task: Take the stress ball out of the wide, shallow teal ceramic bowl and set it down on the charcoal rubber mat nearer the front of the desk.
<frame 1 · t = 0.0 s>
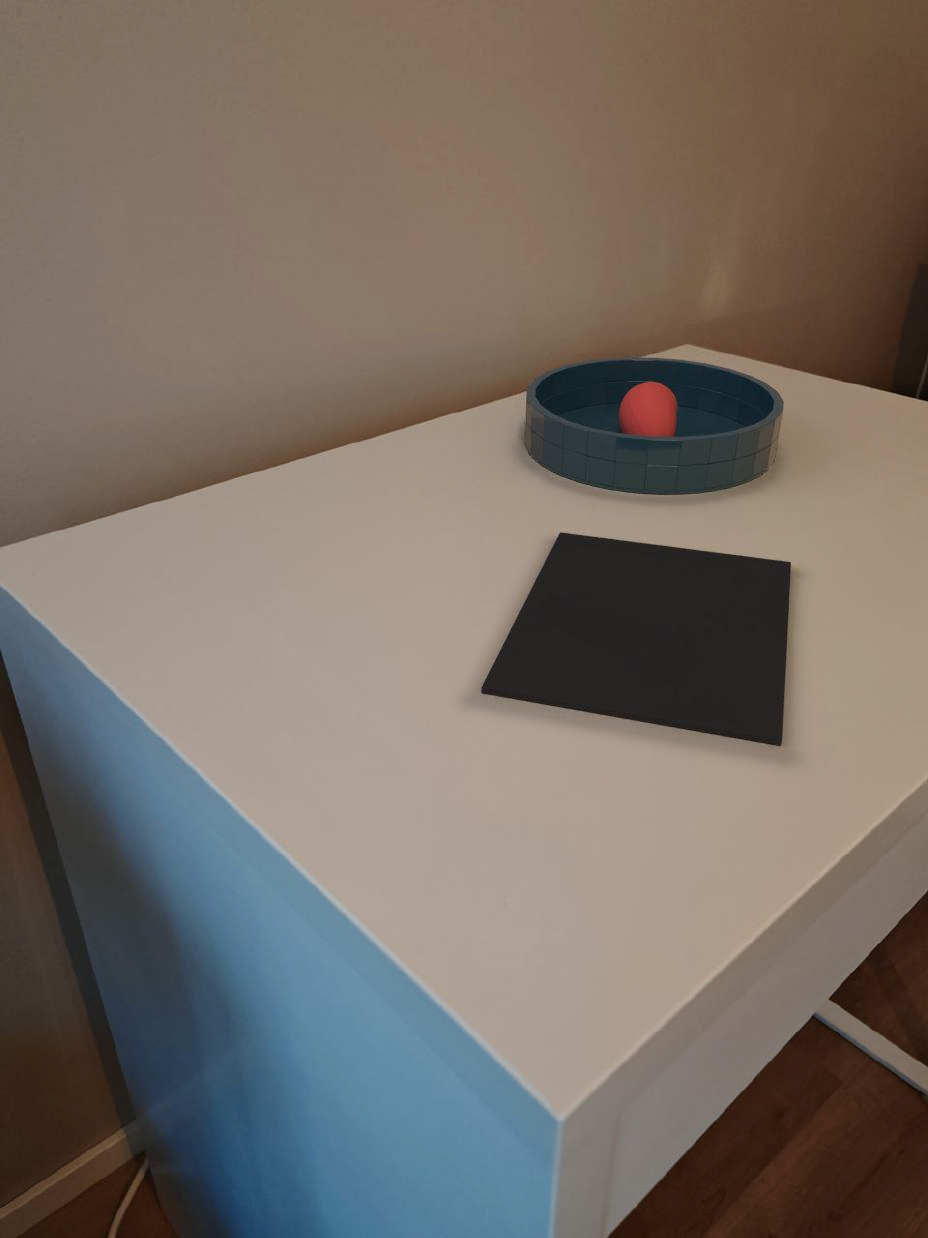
bowl: (647, 443, 85), on the table
stress ball: (647, 442, 85), resting on bowl
mat: (651, 623, 60), on the table
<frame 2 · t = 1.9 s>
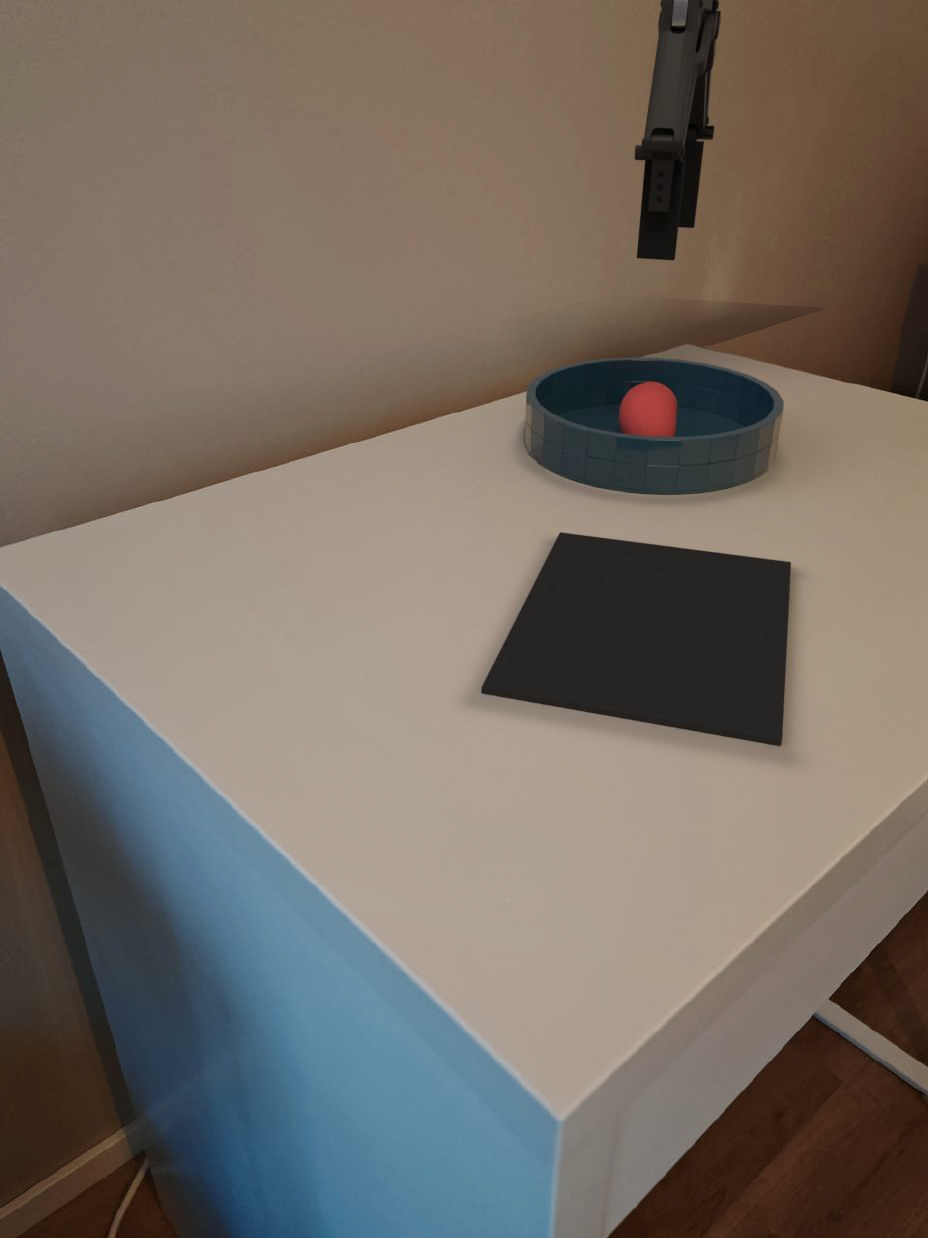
hand: (667, 241, 76), 17 cm above the table, tool pointing down, fingers open, 13 cm apart
nothing on the table moved.
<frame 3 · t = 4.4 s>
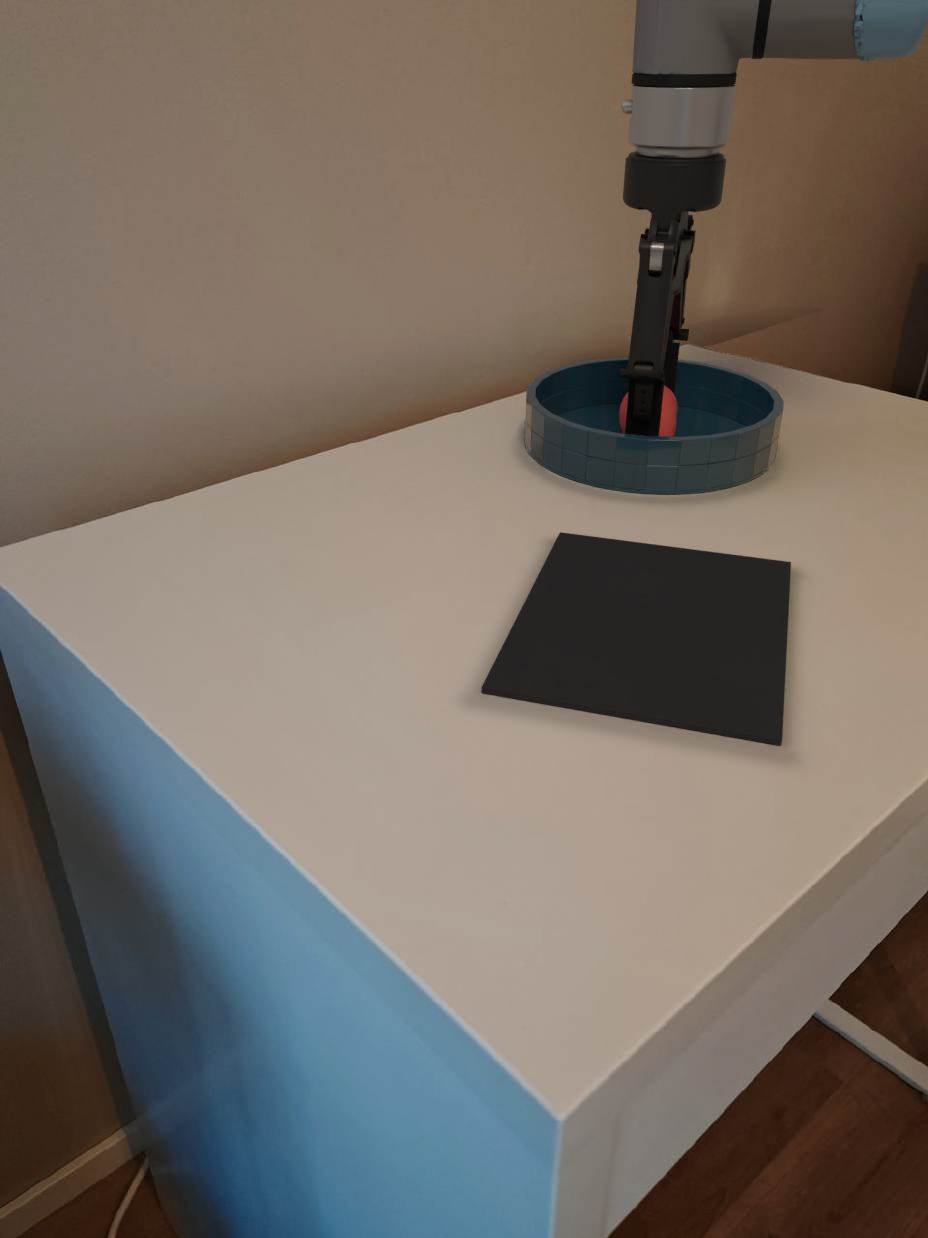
hand: (648, 432, 84), 1 cm above the table, tool pointing down, fingers closed on stress ball, 10 cm apart
stress ball: (648, 442, 85), resting on bowl, touching gripper
when the fingers open (1 cm above the table, at t = 12.4 s): stress ball stays where it is, resting on mat.
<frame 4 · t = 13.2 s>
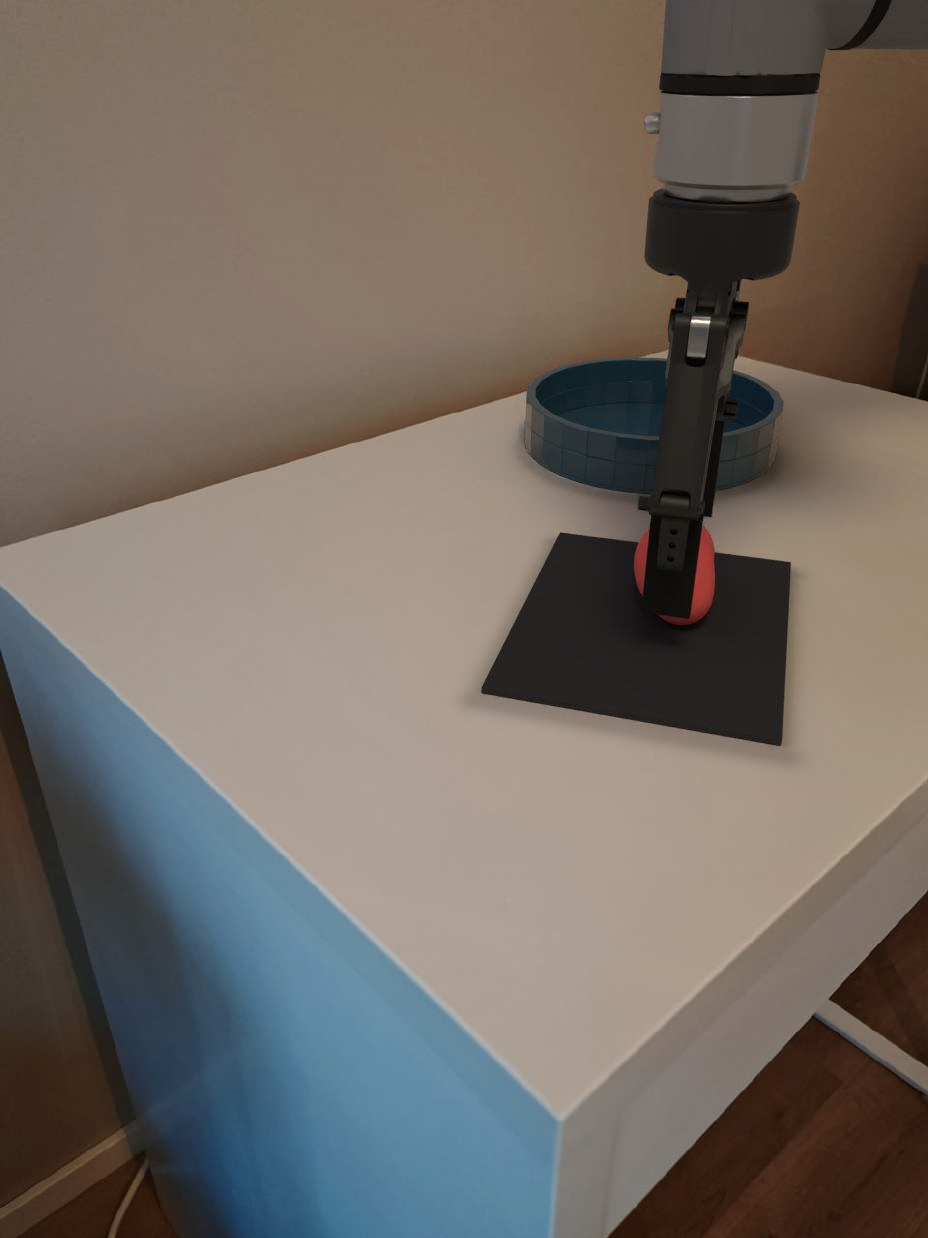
hand: (679, 558, 60), 3 cm above the table, tool pointing down, fingers open, 13 cm apart
stress ball: (673, 598, 62), resting on mat
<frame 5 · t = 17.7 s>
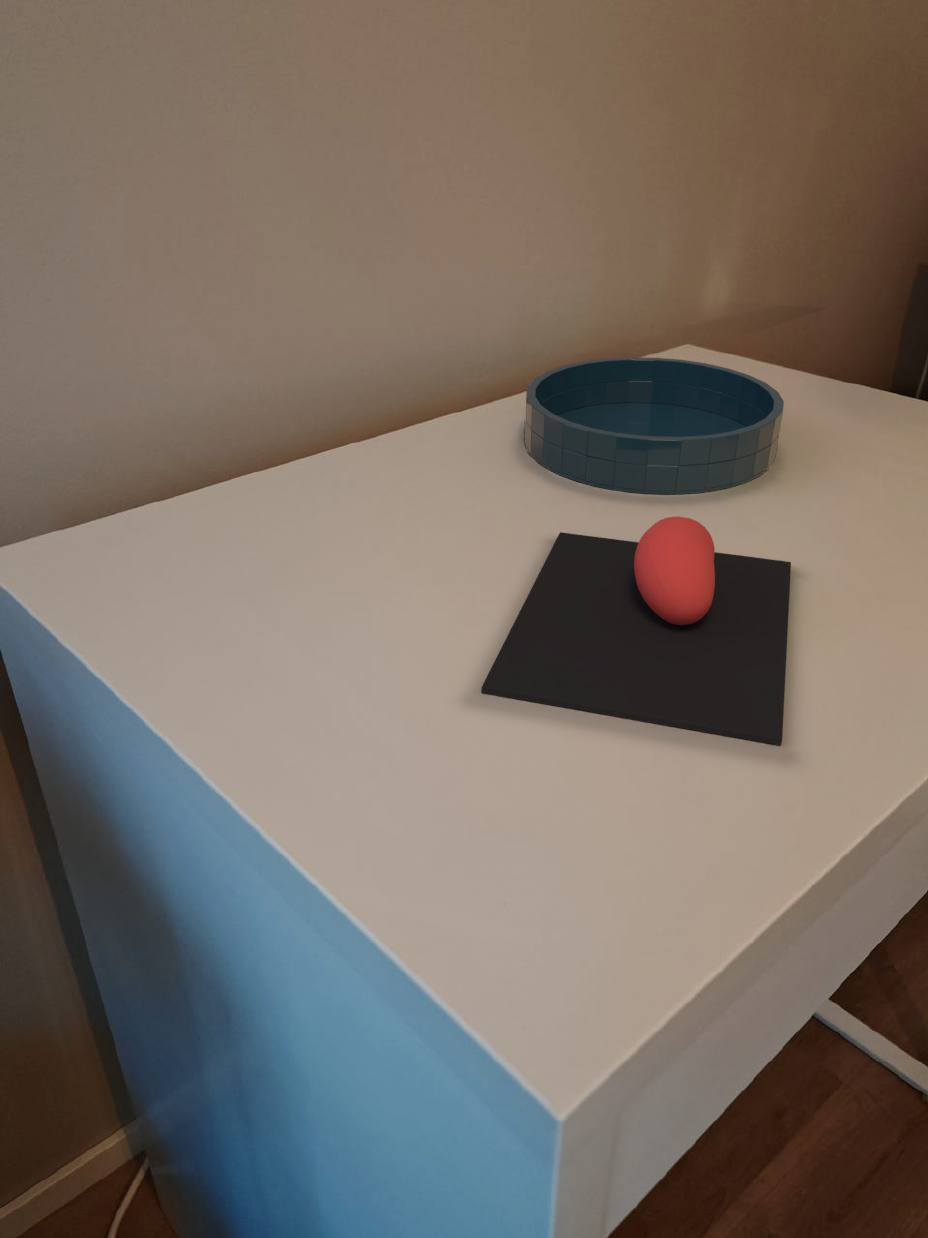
nothing on the table moved.
at the end: stress ball inside the target area on the mat (3.2 cm from its centre), point 0.2 cm above the mat's base; the gripper is holding nothing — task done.
